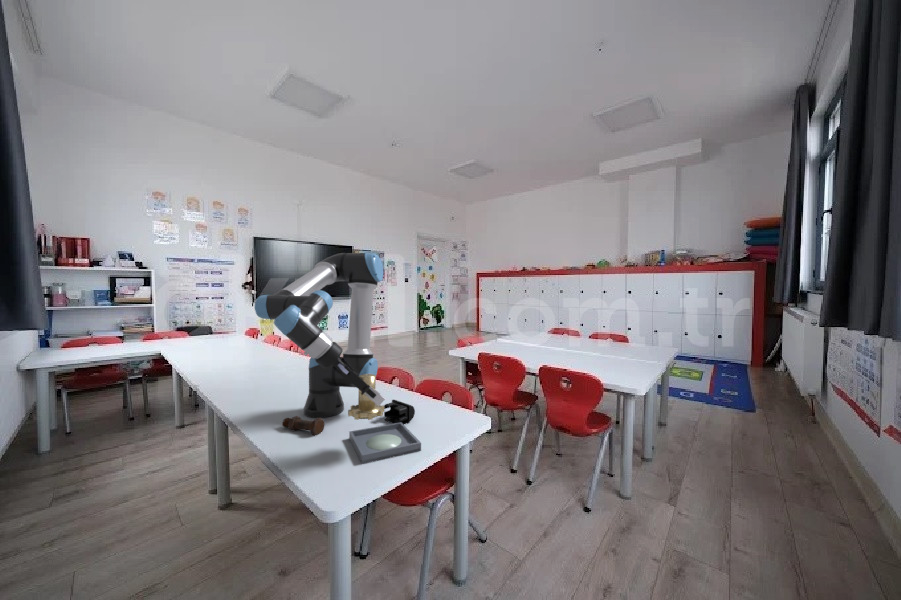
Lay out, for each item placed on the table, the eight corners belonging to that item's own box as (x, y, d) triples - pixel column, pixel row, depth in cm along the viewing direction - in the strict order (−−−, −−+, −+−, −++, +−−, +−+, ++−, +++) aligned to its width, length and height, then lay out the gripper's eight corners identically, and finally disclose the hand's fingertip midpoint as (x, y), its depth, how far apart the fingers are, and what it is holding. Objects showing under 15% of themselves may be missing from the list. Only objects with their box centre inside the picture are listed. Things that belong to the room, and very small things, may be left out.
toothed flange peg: (345, 409, 105) (346, 373, 105) (379, 405, 110) (380, 370, 109) (351, 422, 95) (352, 382, 95) (388, 416, 100) (389, 378, 100)
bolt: (287, 431, 119) (321, 437, 114) (276, 429, 115) (311, 434, 110) (293, 415, 122) (326, 419, 117) (283, 412, 117) (317, 416, 112)
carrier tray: (349, 438, 110) (349, 431, 110) (401, 428, 118) (401, 422, 118) (362, 463, 94) (362, 455, 94) (421, 450, 102) (421, 442, 102)
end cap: (415, 421, 126) (415, 403, 126) (400, 426, 120) (400, 408, 120) (397, 414, 132) (398, 397, 132) (383, 419, 127) (383, 402, 127)
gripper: (311, 354, 103) (364, 400, 111) (316, 366, 87) (377, 419, 95) (330, 336, 105) (380, 382, 113) (337, 345, 89) (396, 399, 97)
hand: (379, 399), depth 104 cm, fingers closed on toothed flange peg, 5 cm apart
